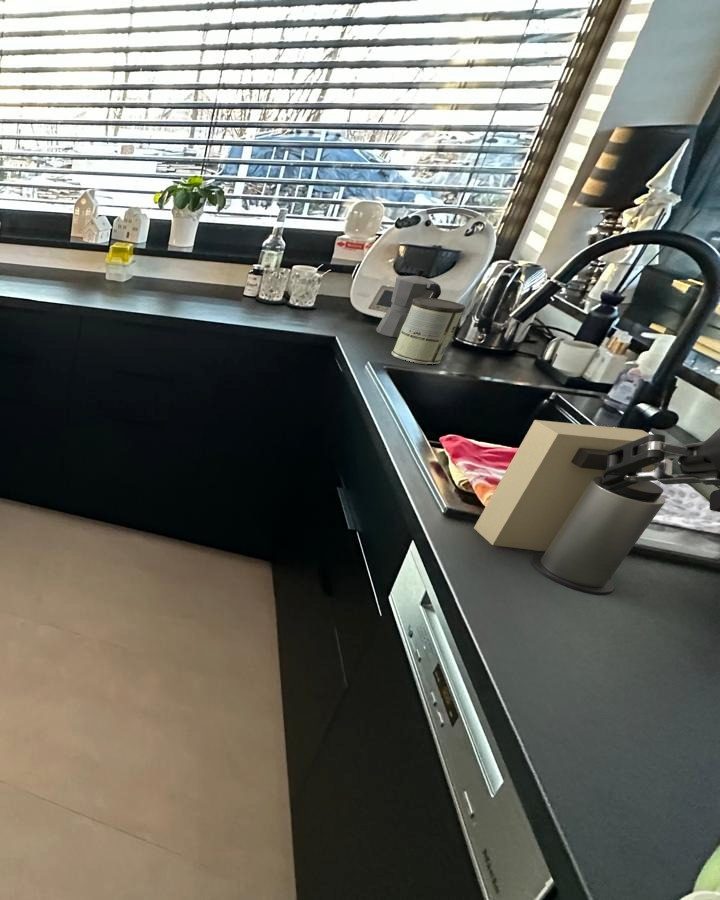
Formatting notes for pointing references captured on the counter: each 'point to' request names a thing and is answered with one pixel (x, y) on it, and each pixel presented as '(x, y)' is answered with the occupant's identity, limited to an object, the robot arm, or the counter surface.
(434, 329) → the coffee can
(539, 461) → the coffee maker
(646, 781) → the counter surface
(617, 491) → the grey canister
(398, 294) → the coffeepot
